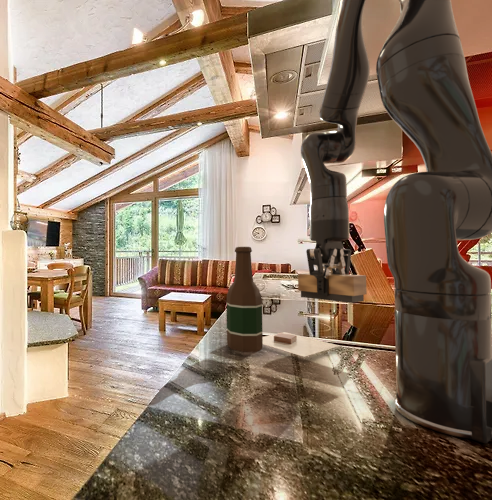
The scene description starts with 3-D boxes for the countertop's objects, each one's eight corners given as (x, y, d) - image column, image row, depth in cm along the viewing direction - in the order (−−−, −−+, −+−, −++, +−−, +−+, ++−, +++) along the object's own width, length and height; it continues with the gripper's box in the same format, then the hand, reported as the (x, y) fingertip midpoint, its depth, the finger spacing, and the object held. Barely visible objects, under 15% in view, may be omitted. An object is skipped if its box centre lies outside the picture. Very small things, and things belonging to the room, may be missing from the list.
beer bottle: (270, 354, 66) (269, 246, 67) (242, 358, 64) (241, 246, 64) (246, 344, 74) (245, 247, 74) (220, 348, 71) (218, 247, 71)
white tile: (340, 349, 69) (340, 345, 69) (304, 361, 62) (304, 356, 62) (284, 335, 81) (284, 332, 81) (249, 344, 74) (249, 340, 74)
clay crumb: (296, 340, 73) (296, 335, 73) (291, 344, 70) (291, 339, 70) (279, 337, 76) (279, 332, 76) (273, 340, 73) (273, 335, 73)
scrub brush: (366, 301, 63) (366, 275, 63) (354, 303, 61) (353, 276, 61) (311, 295, 74) (310, 273, 74) (298, 296, 71) (297, 273, 71)
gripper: (327, 215, 61) (329, 299, 60) (363, 219, 68) (365, 294, 67) (293, 219, 67) (295, 295, 67) (329, 222, 74) (331, 291, 74)
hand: (330, 294), depth 67 cm, fingers closed on scrub brush, 5 cm apart
